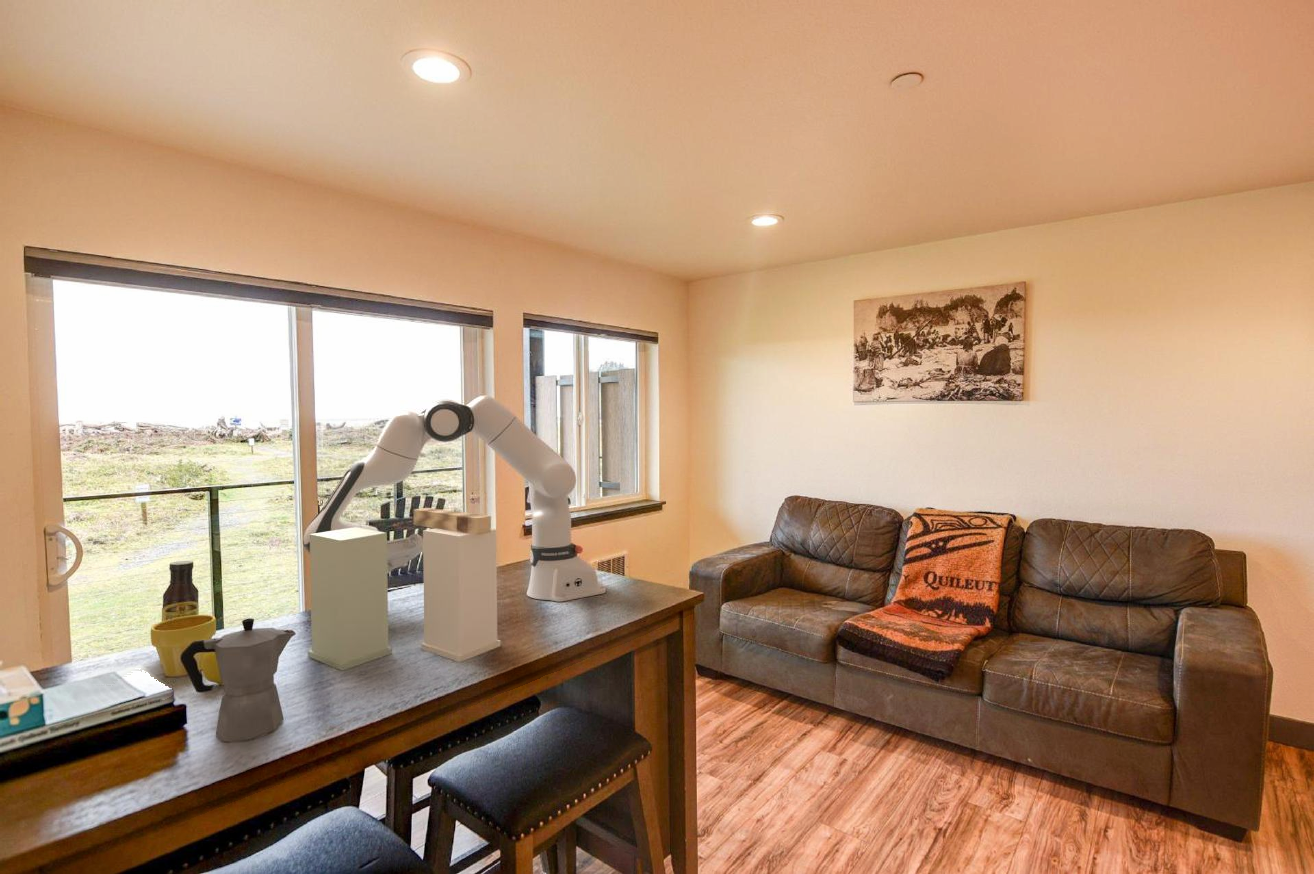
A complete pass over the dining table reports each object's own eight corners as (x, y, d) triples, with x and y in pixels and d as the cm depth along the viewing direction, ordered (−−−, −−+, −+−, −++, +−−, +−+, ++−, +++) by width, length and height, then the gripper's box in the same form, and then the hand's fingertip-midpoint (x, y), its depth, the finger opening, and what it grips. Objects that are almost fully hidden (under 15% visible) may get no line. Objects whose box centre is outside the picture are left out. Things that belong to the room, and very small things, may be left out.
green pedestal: (308, 656, 132) (306, 534, 131) (358, 641, 141) (356, 526, 140) (341, 670, 124) (339, 541, 123) (391, 653, 133) (390, 532, 133)
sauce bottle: (162, 663, 128) (159, 567, 127) (160, 655, 133) (158, 562, 132) (201, 655, 132) (199, 562, 132) (198, 647, 137) (196, 557, 136)
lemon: (195, 688, 116) (194, 645, 116) (226, 676, 121) (225, 636, 121) (215, 693, 114) (214, 650, 114) (245, 681, 119) (244, 640, 119)
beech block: (413, 524, 142) (413, 509, 142) (427, 522, 145) (426, 507, 145) (477, 535, 130) (477, 518, 130) (490, 532, 133) (490, 516, 133)
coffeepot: (296, 706, 109) (294, 604, 108) (298, 729, 101) (296, 619, 100) (186, 730, 101) (183, 620, 100) (179, 757, 93) (175, 637, 92)
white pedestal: (421, 649, 136) (419, 530, 135) (462, 634, 145) (461, 523, 144) (459, 662, 129) (458, 536, 128) (500, 645, 138) (499, 529, 137)
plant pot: (161, 665, 127) (160, 617, 127) (222, 657, 131) (221, 611, 131) (144, 685, 118) (142, 633, 117) (210, 675, 122) (209, 626, 122)
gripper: (325, 557, 148) (353, 534, 141) (403, 543, 165) (431, 521, 158) (333, 582, 146) (361, 559, 139) (410, 565, 163) (439, 544, 156)
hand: (399, 539), depth 148 cm, fingers open, 8 cm apart
